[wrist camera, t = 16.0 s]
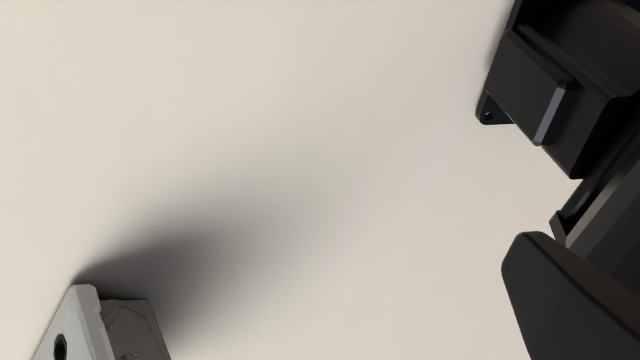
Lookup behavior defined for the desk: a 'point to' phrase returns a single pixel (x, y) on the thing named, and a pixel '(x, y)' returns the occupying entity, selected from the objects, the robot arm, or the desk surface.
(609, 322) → the robot arm
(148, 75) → the desk surface
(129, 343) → the electrical switch
